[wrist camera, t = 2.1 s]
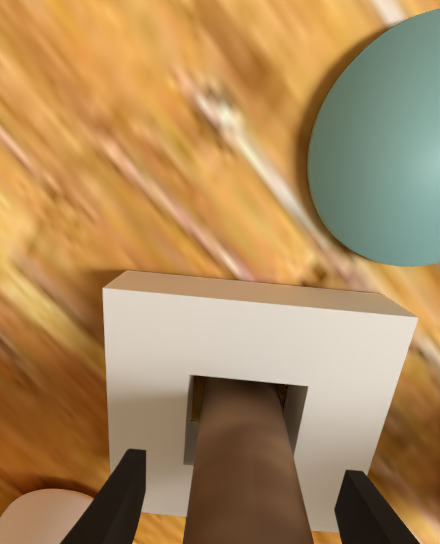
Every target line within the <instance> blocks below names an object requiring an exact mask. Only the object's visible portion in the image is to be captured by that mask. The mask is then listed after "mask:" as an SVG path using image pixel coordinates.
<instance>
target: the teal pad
mask: <svg viewBox="0 0 440 544" xmlns="http://www.w3.org/2000/svg"><path fill="white" fill-rule="evenodd" d="M307 178H308V185H309V191H310V195H311V198H312V201H313V204H314V207H315V209H316V211H317V213H318V216H319V217H320V219H321V221H322V222H323V224H324V225H325V227H326V228H327V229H328V230H329V232H330V233H331V234H332V235H333V236H334V237H335V238H336V239H337V240H338V241H339V242H340V243H342V244H343V245H344V246H346V247H347V248H349V249H350V250H352V251H353V252H355V253H358V254H360V255H362V256H364V257H366V258H368V259H371V260H373V261H376V262H380V263H383V264H388V265H394V266H409V267H414V266H424V265H431V264H435V263H440V9H436V10H433V11H429V12H426V13H423V14H419V15H417V16H414V17H412V18H410V19H408V20H406V21H404V22H401V23H399V24H398V25H396V26H394V27H393V28H391V29H390V30H388V31H386V32H385V33H383V34H382V35H381V36H379V37H378V38H377V39H376V40H374V41H373V42H372V43H371V44H369V45H368V46H367V47H366V48H365V49H364V50H363V51H362V52H361V53H360V54H359V55H358V56H357V57H356V58H355V59H354V60H353V61H352V62H351V63H350V64H349V65H348V66H347V68H346V69H345V70H344V71H343V73H342V74H341V75H340V76H339V78H338V79H337V80H336V81H335V83H334V84H333V86H332V88H331V89H330V91H329V92H328V94H327V96H326V97H325V99H324V101H323V103H322V105H321V107H320V109H319V112H318V114H317V117H316V119H315V122H314V125H313V128H312V132H311V136H310V141H309V145H308V155H307Z"/></svg>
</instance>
